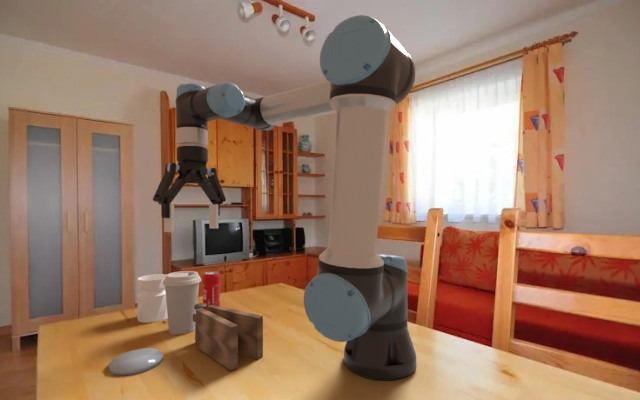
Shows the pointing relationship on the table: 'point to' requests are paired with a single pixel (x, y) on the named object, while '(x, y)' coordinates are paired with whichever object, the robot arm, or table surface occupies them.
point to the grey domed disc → (135, 361)
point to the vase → (151, 298)
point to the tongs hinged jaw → (217, 337)
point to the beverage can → (211, 288)
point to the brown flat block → (242, 329)
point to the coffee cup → (181, 300)
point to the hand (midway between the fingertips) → (193, 230)
